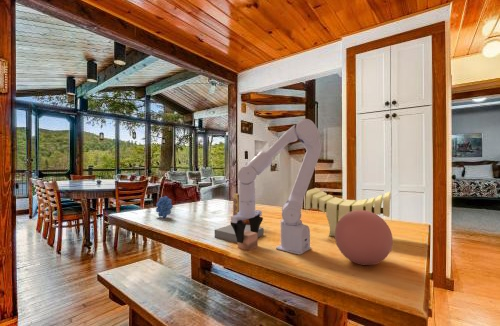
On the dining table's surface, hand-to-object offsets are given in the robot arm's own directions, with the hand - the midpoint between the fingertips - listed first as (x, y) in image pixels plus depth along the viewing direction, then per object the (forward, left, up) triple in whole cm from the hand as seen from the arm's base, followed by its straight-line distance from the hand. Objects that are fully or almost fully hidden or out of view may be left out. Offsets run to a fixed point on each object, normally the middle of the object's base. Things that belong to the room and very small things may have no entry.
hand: (247, 239), depth 89 cm
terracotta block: (0, 0, -3) cm, 3 cm away
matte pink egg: (-35, -12, -3) cm, 37 cm away
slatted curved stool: (-23, -36, -3) cm, 43 cm away
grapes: (+67, -10, -3) cm, 68 cm away
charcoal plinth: (+11, -8, -3) cm, 14 cm away
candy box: (+21, -22, -3) cm, 30 cm away
